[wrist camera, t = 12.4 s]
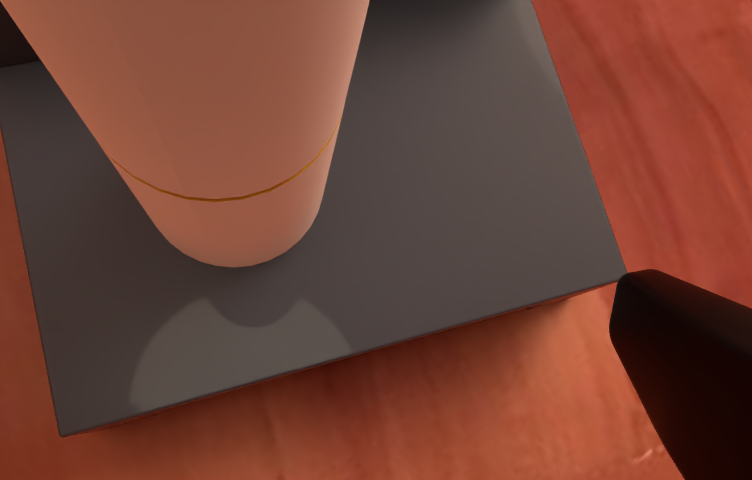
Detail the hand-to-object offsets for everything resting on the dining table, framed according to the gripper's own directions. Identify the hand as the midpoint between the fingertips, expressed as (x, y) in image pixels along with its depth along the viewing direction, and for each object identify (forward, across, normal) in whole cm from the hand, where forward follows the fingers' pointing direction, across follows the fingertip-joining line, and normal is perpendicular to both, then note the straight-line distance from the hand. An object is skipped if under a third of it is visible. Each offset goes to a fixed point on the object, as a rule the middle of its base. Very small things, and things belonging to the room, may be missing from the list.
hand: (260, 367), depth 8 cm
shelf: (+12, -2, +4) cm, 13 cm away
